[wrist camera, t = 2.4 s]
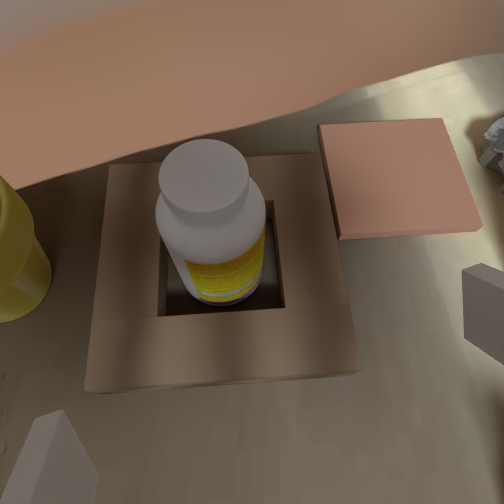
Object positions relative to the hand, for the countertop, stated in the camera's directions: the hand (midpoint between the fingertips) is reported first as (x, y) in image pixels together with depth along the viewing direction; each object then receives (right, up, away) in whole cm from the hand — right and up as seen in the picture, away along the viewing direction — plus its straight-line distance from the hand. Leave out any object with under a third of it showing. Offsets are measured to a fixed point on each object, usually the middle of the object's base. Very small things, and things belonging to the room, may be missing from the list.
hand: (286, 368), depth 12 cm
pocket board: (-4, +2, +19) cm, 19 cm away
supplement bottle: (-4, +2, +19) cm, 20 cm away
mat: (+12, +10, +23) cm, 28 cm away
